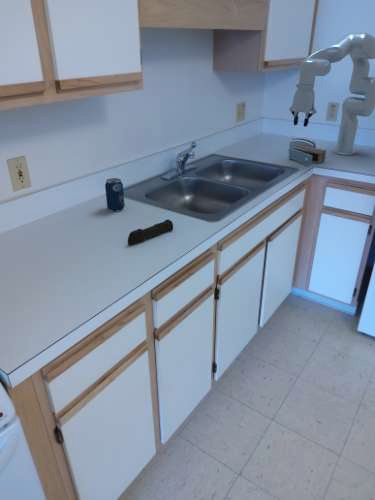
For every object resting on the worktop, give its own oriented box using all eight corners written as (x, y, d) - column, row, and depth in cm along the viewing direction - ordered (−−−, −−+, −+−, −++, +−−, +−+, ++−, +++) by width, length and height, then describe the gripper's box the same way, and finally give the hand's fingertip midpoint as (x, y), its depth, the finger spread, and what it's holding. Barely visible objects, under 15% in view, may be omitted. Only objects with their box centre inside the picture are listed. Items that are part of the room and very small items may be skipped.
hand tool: (166, 227, 143) (166, 216, 141) (173, 231, 141) (173, 219, 138) (123, 243, 132) (122, 231, 130) (130, 247, 129) (129, 235, 127)
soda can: (125, 211, 155) (123, 182, 149) (107, 212, 154) (104, 184, 148) (124, 205, 161) (122, 177, 155) (107, 206, 160) (104, 178, 154)
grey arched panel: (317, 153, 233) (318, 138, 226) (314, 158, 231) (314, 143, 224) (292, 149, 242) (291, 134, 236) (288, 153, 240) (288, 138, 233)
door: (289, 157, 223) (291, 148, 220) (311, 165, 210) (312, 155, 207) (286, 157, 222) (288, 148, 220) (307, 165, 209) (309, 156, 206)
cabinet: (296, 155, 229) (297, 145, 226) (324, 160, 220) (326, 150, 217) (290, 158, 223) (291, 148, 220) (319, 164, 214) (321, 152, 211)
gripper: (286, 87, 194) (282, 124, 203) (319, 89, 185) (313, 128, 194) (292, 85, 200) (288, 122, 208) (325, 88, 191) (319, 126, 199)
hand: (300, 125), depth 201 cm, fingers open, 4 cm apart
